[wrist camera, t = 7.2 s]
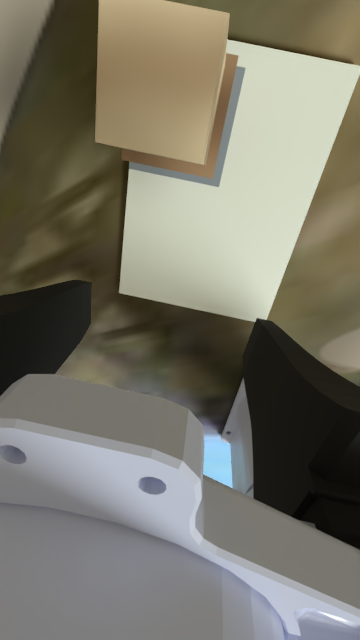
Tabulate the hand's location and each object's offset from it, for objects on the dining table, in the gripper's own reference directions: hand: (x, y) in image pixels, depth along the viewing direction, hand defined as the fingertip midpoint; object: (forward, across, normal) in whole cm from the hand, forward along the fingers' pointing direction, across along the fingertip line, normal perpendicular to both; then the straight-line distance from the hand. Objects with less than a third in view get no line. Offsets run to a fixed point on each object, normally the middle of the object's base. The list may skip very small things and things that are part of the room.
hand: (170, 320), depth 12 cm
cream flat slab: (+10, -1, -4) cm, 11 cm away
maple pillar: (+6, +2, -8) cm, 10 cm away
